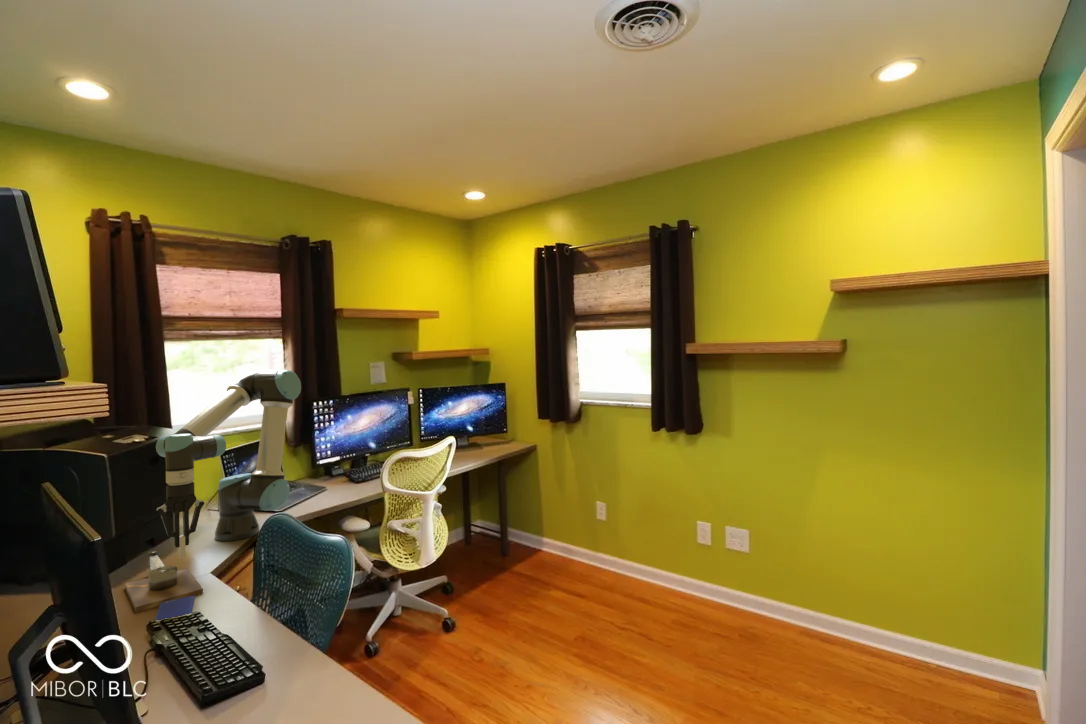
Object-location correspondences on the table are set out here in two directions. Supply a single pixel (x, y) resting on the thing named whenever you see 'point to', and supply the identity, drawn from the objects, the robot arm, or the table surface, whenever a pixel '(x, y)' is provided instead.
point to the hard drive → (175, 608)
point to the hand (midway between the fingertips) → (182, 556)
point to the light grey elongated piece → (160, 573)
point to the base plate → (162, 591)
